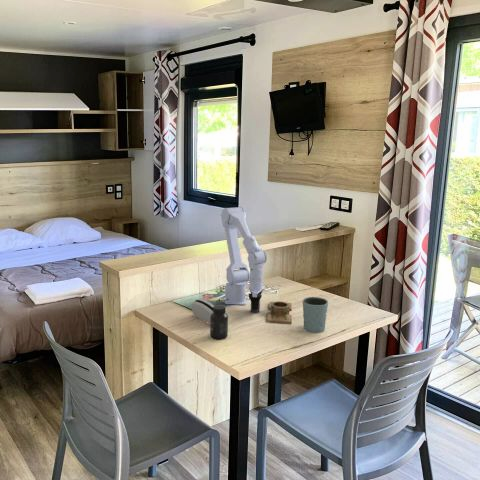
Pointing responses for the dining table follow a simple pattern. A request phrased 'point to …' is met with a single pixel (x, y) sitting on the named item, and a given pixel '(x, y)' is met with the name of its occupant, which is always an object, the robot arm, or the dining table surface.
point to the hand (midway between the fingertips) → (255, 307)
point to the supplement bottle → (219, 323)
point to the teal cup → (314, 314)
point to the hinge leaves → (280, 312)
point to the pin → (257, 309)
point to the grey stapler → (202, 309)
